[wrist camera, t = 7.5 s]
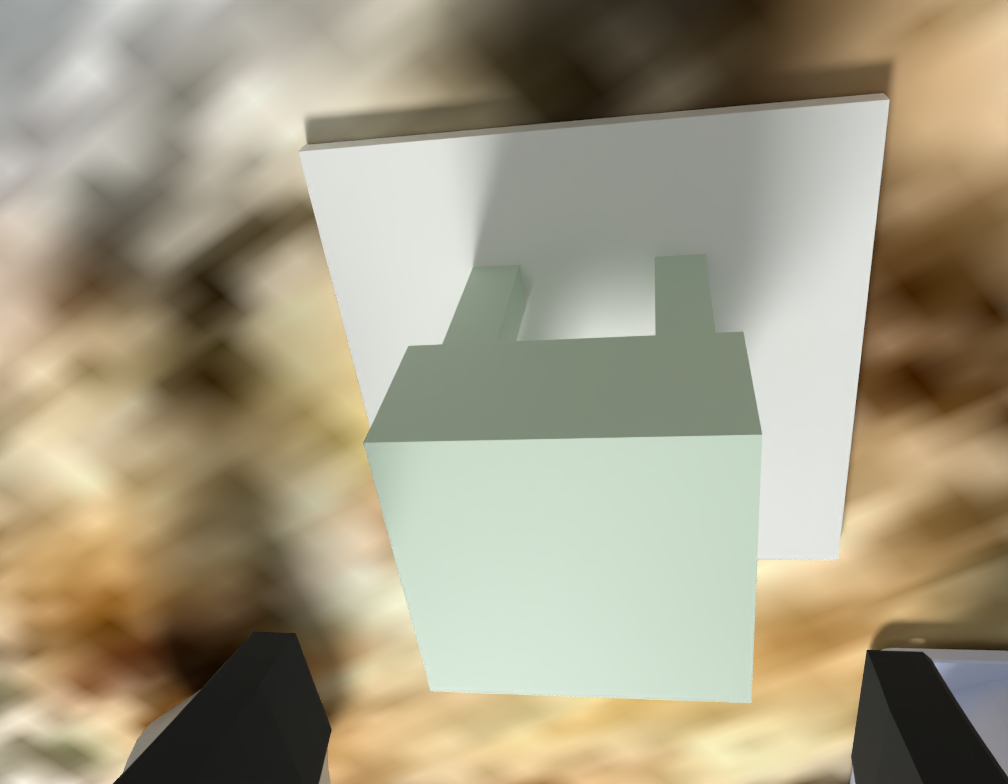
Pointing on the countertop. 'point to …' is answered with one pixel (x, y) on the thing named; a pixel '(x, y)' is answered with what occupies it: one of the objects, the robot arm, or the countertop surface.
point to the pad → (634, 256)
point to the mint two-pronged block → (577, 500)
